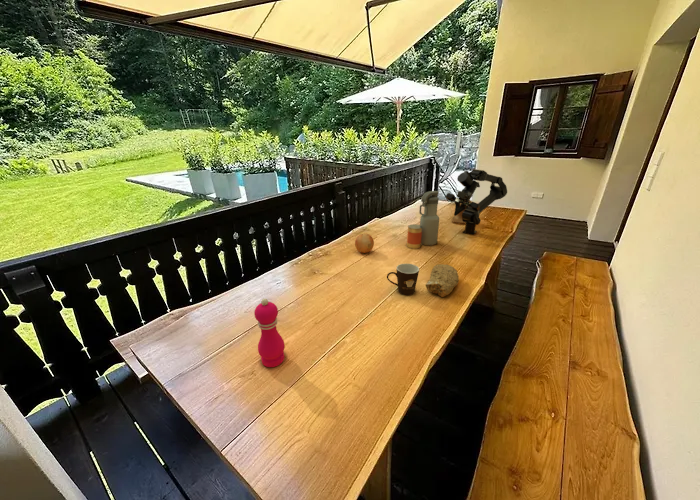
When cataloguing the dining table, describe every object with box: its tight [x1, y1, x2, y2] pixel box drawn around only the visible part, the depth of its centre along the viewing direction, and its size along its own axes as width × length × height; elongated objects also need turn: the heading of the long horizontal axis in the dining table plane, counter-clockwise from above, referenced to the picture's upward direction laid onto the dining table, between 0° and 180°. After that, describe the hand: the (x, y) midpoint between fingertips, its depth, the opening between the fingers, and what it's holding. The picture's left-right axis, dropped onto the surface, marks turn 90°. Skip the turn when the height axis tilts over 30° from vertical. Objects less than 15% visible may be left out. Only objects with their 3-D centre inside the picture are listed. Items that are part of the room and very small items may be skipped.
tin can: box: [406, 223, 422, 250], centre depth 159 cm, size 7×7×11 cm
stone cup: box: [450, 199, 473, 224], centre depth 196 cm, size 15×12×15 cm
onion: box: [354, 232, 375, 254], centre depth 152 cm, size 10×10×10 cm
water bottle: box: [418, 190, 440, 246], centre depth 159 cm, size 10×10×28 cm
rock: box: [425, 263, 460, 298], centre depth 121 cm, size 13×8×20 cm
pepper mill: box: [253, 297, 286, 368], centre depth 81 cm, size 7×7×20 cm
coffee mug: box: [386, 263, 420, 296], centre depth 117 cm, size 12×9×10 cm
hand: (454, 215), depth 167 cm, fingers closed
